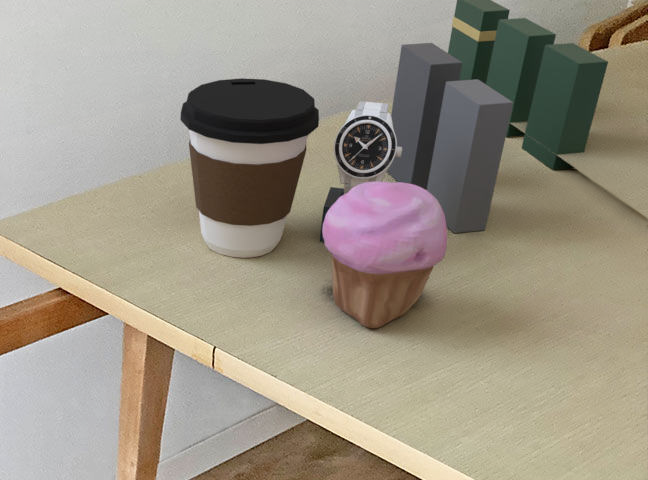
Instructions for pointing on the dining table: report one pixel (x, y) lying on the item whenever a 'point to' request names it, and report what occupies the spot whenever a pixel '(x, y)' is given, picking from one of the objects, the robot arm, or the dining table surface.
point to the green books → (546, 89)
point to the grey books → (448, 134)
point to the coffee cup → (246, 159)
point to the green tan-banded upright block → (475, 36)
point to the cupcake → (383, 248)
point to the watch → (363, 150)
